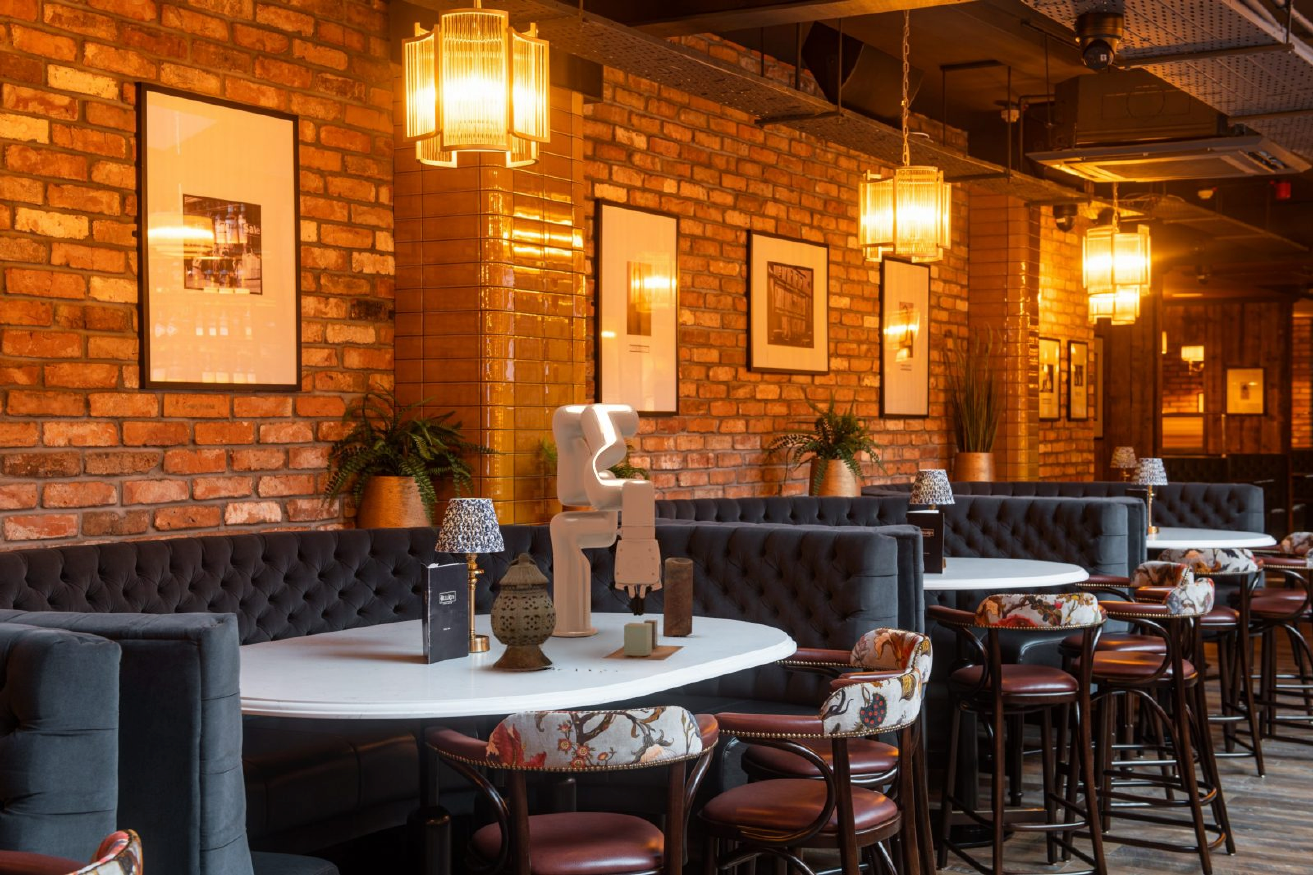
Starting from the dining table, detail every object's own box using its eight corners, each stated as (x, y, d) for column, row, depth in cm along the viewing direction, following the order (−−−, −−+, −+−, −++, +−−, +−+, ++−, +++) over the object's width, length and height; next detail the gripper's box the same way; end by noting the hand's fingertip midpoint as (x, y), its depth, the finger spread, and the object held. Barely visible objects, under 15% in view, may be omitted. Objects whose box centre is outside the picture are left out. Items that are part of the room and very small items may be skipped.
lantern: (478, 669, 298) (478, 554, 299) (512, 660, 311) (511, 549, 312) (535, 673, 293) (535, 556, 293) (566, 664, 306) (566, 551, 306)
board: (602, 661, 309) (602, 657, 309) (627, 647, 331) (627, 644, 331) (663, 663, 306) (663, 660, 306) (684, 649, 327) (684, 646, 327)
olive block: (624, 654, 310) (624, 625, 311) (629, 651, 316) (629, 622, 316) (646, 655, 309) (646, 626, 309) (651, 652, 314) (651, 623, 314)
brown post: (644, 648, 323) (644, 621, 323) (646, 647, 326) (646, 619, 326) (654, 649, 323) (654, 621, 323) (657, 647, 325) (657, 620, 325)
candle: (694, 635, 351) (694, 557, 352) (692, 639, 344) (691, 559, 344) (664, 635, 352) (664, 557, 352) (661, 639, 345) (661, 559, 345)
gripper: (602, 534, 311) (602, 616, 310) (666, 535, 307) (666, 617, 307) (610, 533, 318) (611, 612, 318) (673, 533, 314) (674, 614, 314)
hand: (638, 614), depth 312 cm, fingers closed
